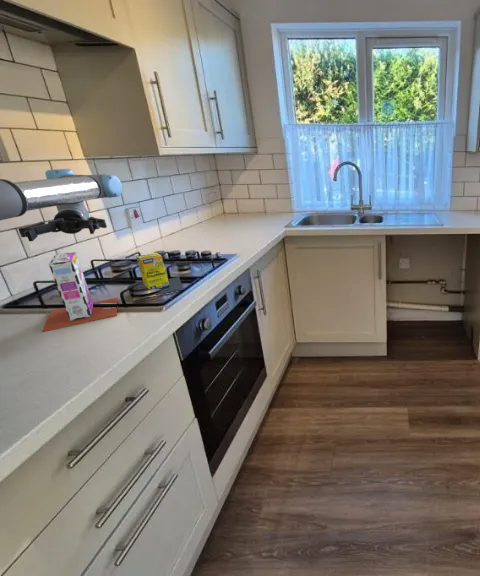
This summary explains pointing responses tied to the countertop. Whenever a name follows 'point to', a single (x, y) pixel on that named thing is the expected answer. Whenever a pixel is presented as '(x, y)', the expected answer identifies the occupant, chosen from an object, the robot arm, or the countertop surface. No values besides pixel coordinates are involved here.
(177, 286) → the slate mat
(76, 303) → the candy bar box
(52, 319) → the terracotta mat
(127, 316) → the countertop surface
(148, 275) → the supplement box
